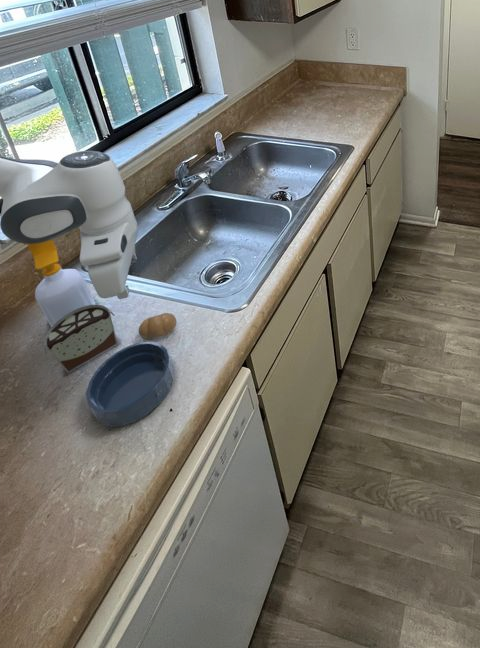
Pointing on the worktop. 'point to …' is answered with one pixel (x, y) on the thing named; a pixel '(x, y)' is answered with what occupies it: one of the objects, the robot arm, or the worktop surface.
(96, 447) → the worktop surface
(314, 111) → the worktop surface
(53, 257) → the soap bottle
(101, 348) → the cake slice
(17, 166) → the robot arm
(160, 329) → the potato
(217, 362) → the worktop surface
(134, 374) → the bowl
